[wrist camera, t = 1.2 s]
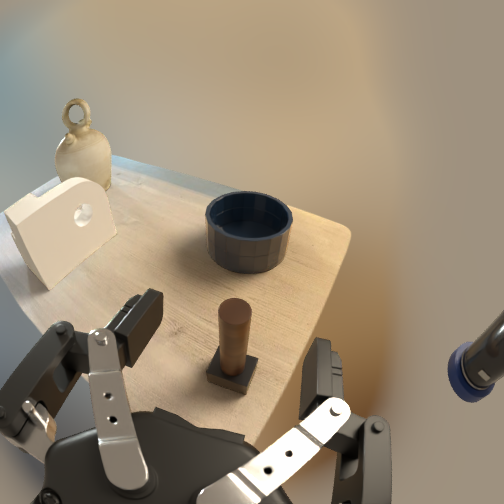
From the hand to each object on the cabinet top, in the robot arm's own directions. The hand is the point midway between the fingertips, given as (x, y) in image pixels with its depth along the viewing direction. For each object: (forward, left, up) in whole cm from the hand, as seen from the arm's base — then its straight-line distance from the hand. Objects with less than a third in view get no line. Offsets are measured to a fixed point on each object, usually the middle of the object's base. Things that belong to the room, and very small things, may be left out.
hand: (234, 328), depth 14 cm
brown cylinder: (+2, -6, -21) cm, 22 cm away
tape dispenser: (+40, -15, -21) cm, 48 cm away
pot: (+8, -30, -21) cm, 38 cm away
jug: (+54, -35, -21) cm, 68 cm away
